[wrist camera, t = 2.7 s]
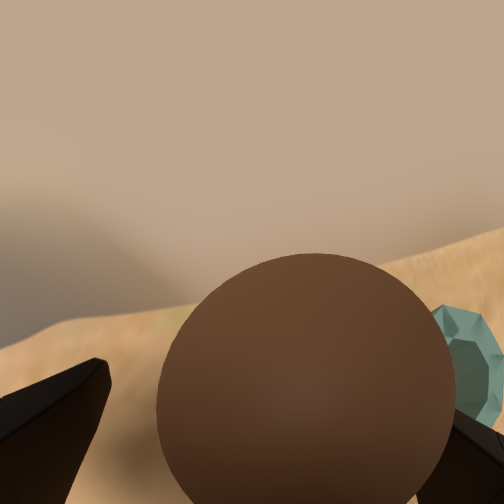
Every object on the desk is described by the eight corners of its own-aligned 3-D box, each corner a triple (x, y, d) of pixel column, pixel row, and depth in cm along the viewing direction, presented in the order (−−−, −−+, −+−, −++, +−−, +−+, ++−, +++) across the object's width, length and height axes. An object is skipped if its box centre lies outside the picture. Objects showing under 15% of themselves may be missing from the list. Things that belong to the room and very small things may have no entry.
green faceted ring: (484, 391, 14) (516, 381, 11) (411, 483, 11) (445, 490, 8) (431, 302, 17) (460, 282, 14) (343, 384, 14) (371, 377, 11)
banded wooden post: (290, 412, 13) (490, 406, 2) (234, 445, 12) (272, 592, 1) (256, 360, 15) (354, 206, 4) (199, 390, 14) (91, 334, 2)
